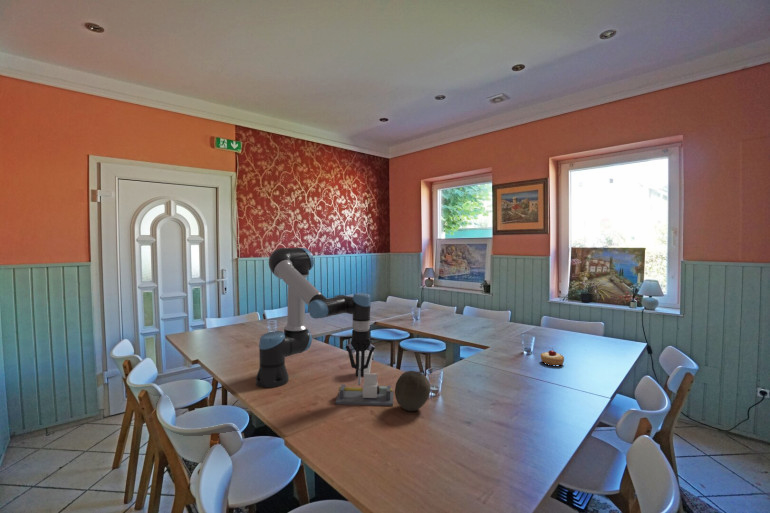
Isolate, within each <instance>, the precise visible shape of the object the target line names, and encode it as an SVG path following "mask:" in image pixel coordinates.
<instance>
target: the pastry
mask: <svg viewBox="0 0 770 513" xmlns="http://www.w3.org/2000/svg"><path fill="white" fill-rule="evenodd" d="M551 349H552V350H548V352H547V351H545V352H542V353H541V354H540V360H541V362H542V363H543V362H544V363H546V364H549V365H561V366H562V365H564V361H565V356H564V355H562V354H560V353H557V352H556V351H555V350H554V348H551ZM544 363H543V364H544ZM546 364H545V365H546ZM549 365H548V366H549Z"/></svg>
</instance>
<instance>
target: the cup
mask: <svg viewBox="0 0 770 513" xmlns="http://www.w3.org/2000/svg"><path fill="white" fill-rule="evenodd" d="M369 352H370V349H369V350H368V349H367V350H366V351H365V359H364V365H366V362H367V358H368V355H369ZM353 353H354V354H353V355H354V360H356V351H354V352H353ZM373 356H374V351H373V352H372V355H371V358H370V361H369V365H368V368H365V369H364V373H371V368H372V361H373ZM359 368H361V351H359ZM363 377H364V375H363Z"/></svg>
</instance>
